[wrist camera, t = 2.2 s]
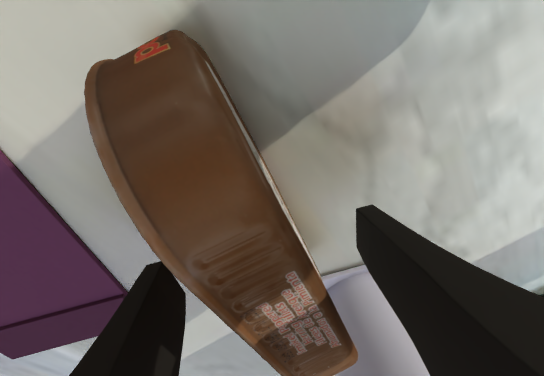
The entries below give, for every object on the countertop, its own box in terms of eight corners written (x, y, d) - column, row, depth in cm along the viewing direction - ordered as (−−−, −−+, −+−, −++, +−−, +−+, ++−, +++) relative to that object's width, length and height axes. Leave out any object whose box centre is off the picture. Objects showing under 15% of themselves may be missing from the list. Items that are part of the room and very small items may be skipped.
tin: (132, 51, 10) (-70, 125, 3) (205, 12, 10) (168, -3, 3) (277, 269, 18) (313, 421, 11) (318, 252, 18) (380, 397, 11)
